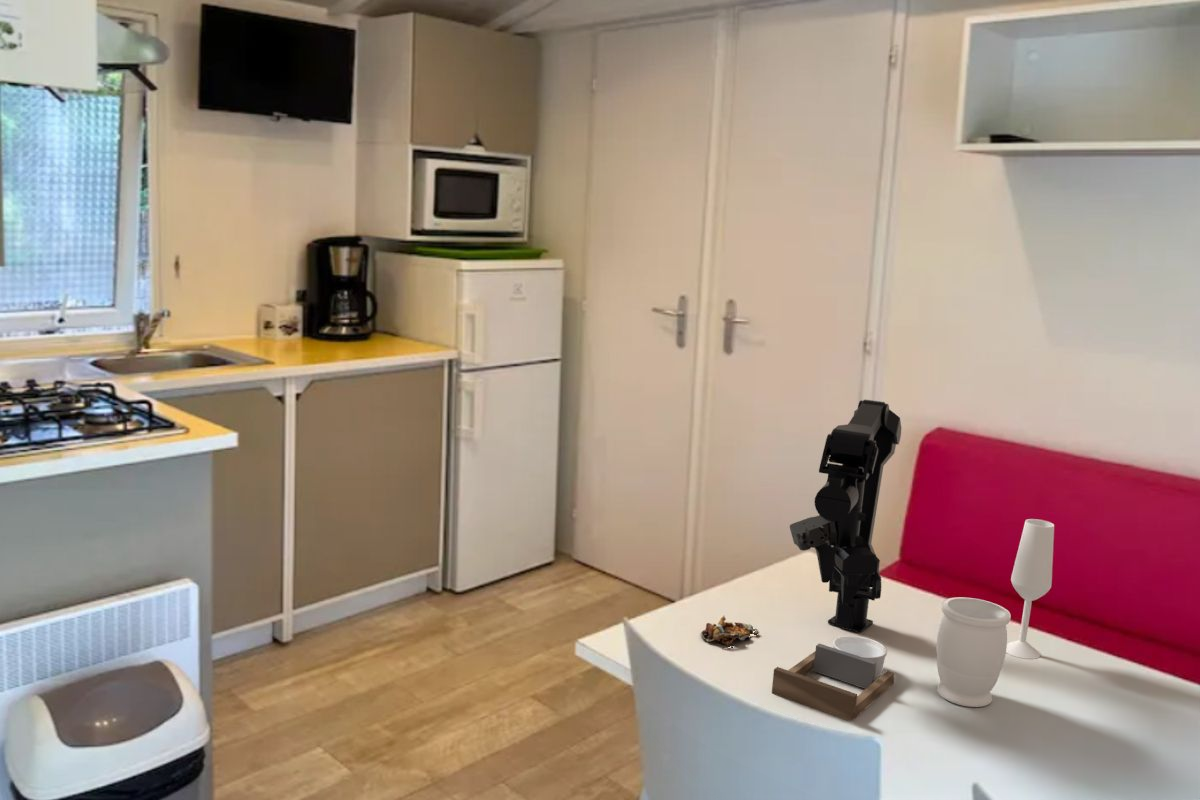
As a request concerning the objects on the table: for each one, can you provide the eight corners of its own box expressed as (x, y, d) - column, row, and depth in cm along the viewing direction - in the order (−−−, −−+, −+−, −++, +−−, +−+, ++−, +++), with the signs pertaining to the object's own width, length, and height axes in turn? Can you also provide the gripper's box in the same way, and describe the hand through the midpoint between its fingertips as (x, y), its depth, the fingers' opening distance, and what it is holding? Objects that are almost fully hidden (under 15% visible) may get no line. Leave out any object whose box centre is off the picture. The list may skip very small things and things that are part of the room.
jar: (964, 716, 161) (977, 625, 159) (916, 687, 170) (927, 600, 168) (1012, 705, 166) (1026, 616, 164) (963, 677, 175) (975, 593, 173)
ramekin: (826, 657, 180) (828, 633, 179) (877, 660, 180) (880, 637, 179) (835, 679, 172) (838, 655, 171) (889, 683, 171) (892, 659, 171)
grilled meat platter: (764, 635, 188) (766, 617, 188) (726, 653, 180) (728, 634, 179) (733, 623, 193) (734, 605, 192) (694, 640, 184) (696, 621, 184)
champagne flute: (1021, 660, 184) (1040, 530, 179) (992, 645, 190) (1010, 518, 185) (1049, 656, 186) (1069, 527, 182) (1020, 641, 192) (1038, 516, 188)
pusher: (817, 668, 175) (819, 642, 174) (874, 687, 169) (877, 661, 168) (813, 671, 173) (816, 645, 173) (870, 690, 168) (873, 664, 167)
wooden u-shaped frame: (818, 659, 179) (820, 637, 178) (893, 683, 171) (896, 661, 170) (771, 692, 165) (773, 669, 164) (851, 721, 157) (854, 696, 157)
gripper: (779, 487, 180) (771, 572, 183) (818, 523, 162) (808, 616, 165) (840, 487, 182) (831, 571, 185) (885, 522, 164) (875, 615, 167)
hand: (835, 592), depth 176 cm, fingers open, 9 cm apart
